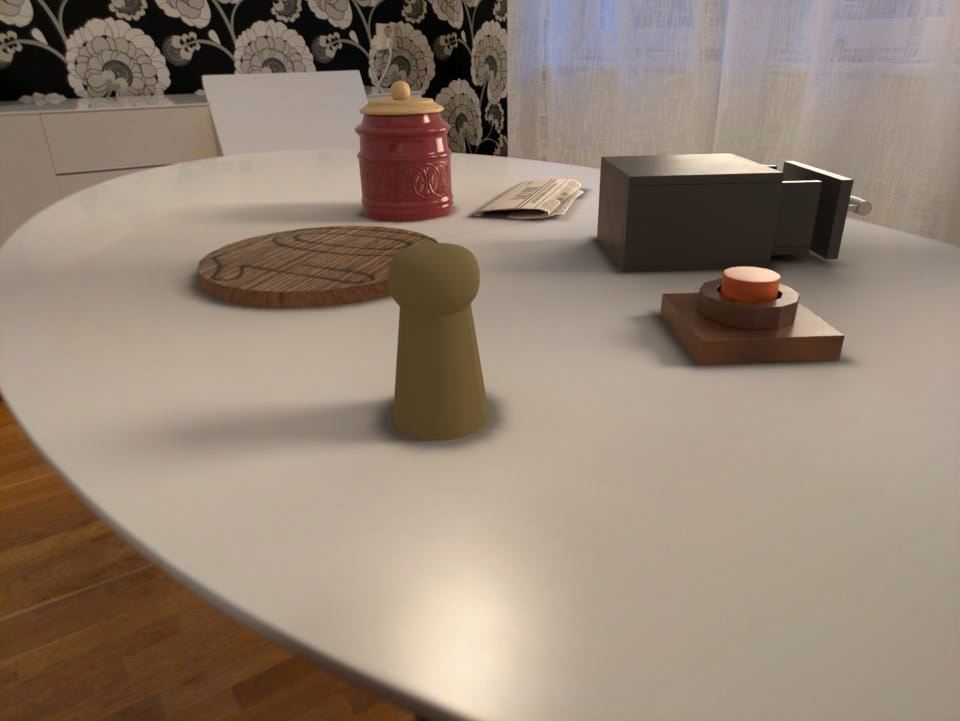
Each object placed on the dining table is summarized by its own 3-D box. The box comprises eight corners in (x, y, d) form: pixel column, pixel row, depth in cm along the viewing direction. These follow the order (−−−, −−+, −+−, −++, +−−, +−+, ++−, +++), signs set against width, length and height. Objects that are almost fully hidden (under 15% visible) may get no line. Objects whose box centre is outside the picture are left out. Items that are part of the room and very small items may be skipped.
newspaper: (562, 224, 88) (561, 205, 87) (475, 228, 93) (473, 210, 92) (593, 191, 108) (592, 175, 107) (520, 196, 112) (518, 180, 111)
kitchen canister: (386, 229, 88) (374, 83, 81) (348, 212, 98) (335, 81, 91) (470, 216, 94) (467, 79, 87) (427, 201, 104) (420, 78, 97)
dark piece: (817, 228, 80) (830, 160, 76) (878, 258, 68) (896, 178, 65) (668, 233, 79) (675, 164, 76) (704, 263, 68) (714, 183, 64)
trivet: (373, 325, 57) (371, 303, 56) (143, 296, 65) (139, 277, 64) (477, 249, 78) (476, 233, 77) (294, 235, 86) (292, 220, 85)
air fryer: (719, 238, 80) (730, 153, 76) (768, 272, 68) (784, 172, 64) (596, 241, 80) (601, 156, 76) (622, 276, 67) (629, 176, 63)
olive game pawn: (372, 423, 41) (354, 249, 37) (442, 389, 45) (434, 228, 41) (440, 458, 38) (430, 269, 33) (510, 418, 42) (509, 244, 37)
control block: (777, 315, 57) (785, 270, 55) (838, 365, 48) (850, 312, 46) (659, 319, 56) (664, 273, 55) (698, 370, 47) (705, 317, 46)
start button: (763, 287, 52) (767, 265, 52) (786, 304, 49) (790, 281, 48) (712, 288, 52) (715, 266, 52) (731, 306, 49) (734, 283, 48)
